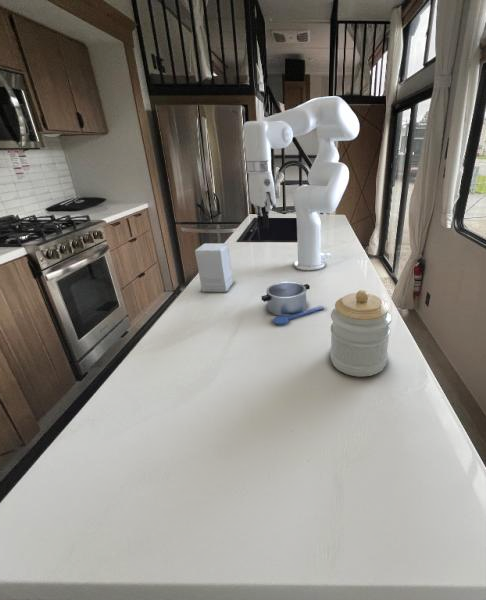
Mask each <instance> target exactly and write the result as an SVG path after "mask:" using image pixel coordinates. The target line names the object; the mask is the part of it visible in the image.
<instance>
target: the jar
mask: <svg viewBox="0 0 486 600" xmlns="http://www.w3.org/2000/svg"><path fill="white" fill-rule="evenodd" d="M389 309H390V308H389V305H388V303H387V302H386V301H384V300H383V299H382V298H380V296H377V295H374V294H371V293H368V292H367V290H363V289H361V290H358V291H357V292H352V293H349V294H346V295H344V296H342V297H339V299H337V300H336V302H335V304H334V307H333V309H332V311H331V312H330V318H331V321H332V322H331V325H330V332H331V334H330V335H331V339H330V340H331V341H330V344H331V345H330V349H329V350H330V351H329V352H330V353H329V355H330V359H331V363H332V365H333V366H334V368H335V369H336V370H338V371H339V372H341V373H343V374H346V375H349V376H353V377H370V376H374V375H376V374H379V373H380V372H382V371H383V370H384V368H385V367H386V364H387V361H388V355H389V352H388V347H389V339H390V336H391V329H390V327H389V326H390V324H391V323H392V320H393V317H392V315H391V313H390V312H389V311H390V310H389Z"/></svg>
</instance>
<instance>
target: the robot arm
mask: <svg viewBox="0 0 486 600" xmlns="http://www.w3.org/2000/svg"><path fill="white" fill-rule="evenodd" d="M315 129H316V136H317V142H318V143H317V144H318V152H317V155H316V156H315V159H314V161H313V163H312V165H311V167H310V168H309V169H310V170H309V172H308V174H307V182H308V184H304V185H303V184H302V185H300V186H298V187H297V188H295V190H294V191H293V194H292V195H293V196H292V199H293V206H294V210H295V217H296V219H295V220H296V239H297V240H296V241H297V242H296V243H297V260H295V261H294V264H293V265H294V268H296V269H297V270H301V271H317V270H320V269H323V268H324V267H325V264H326V263H325V261H324V260H326V259H331V257H332V256H331V253H329V252H328V253H324V252H322V221H321V218H320V216H319V214H331V213H334V212H335V211H336V210H337V208H338V206H339V204H340V202H341V200H342V197H343V195H344V193H345V191H346V189H347V186H348V184H349V180H350V171H349V170H350V169H349V168H348V166H347V165H346V164H345V163H344V162H340V161H339V160H340V153H339V151H338V148H337V147H336V145H335V142H342V141H346V142H348V141H353V140H354V139H356V138H357V137H358V135H359V132H360V122H359V118H358V117H357V115H356V113H355V112H354V111H353V110H352V108H351V107H350V105H349V104H348V103H347V102H346V101H345V99H343V98H342V97H340V96H337V95H333V96H323V97H316V98H312V99H310V100H308V101H306V102H304V103H301V104H299V105H298V106H295V107H292V108H289V109H287V110H284V111H281V112H278V113H275V114H272V115H269V116H266V117H263V118H262V119H260V120H249V121H245V122H244V123H243V126H242V132H243V143H244V152H245V153H244V154H245V163H246V173H247V174H248V195H249V201H250V203H251V204H252V205H253V208H254V209H255V212H256V216H257V228H259V229H261V230H263V229H269V227H270V219H269V216H270V212H271V211H272V207H275V206H276V204H277V199H276V189H275V181H274V176H273V168H272V166H273V165H272V152H271V151H272V150H273V149H274V150H275V149H276V150H277V149H285V148H287V147H289V146H290V144H291V143H292V141H293V138H296V137H301V136H304V135H307V134H308V133H310V132H312V131H313V130H315ZM271 149H272V150H271ZM318 213H319V214H318Z"/></svg>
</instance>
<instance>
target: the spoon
mask: <svg viewBox="0 0 486 600" xmlns="http://www.w3.org/2000/svg"><path fill="white" fill-rule="evenodd" d="M321 311H324V307H323V306H318V307H315V308H311V309H308V310H304V311H303V312H302V313H298V314H295V315H292V316H278V315H277V316H275V317H273V324H274V325H276V326H286V325H287V324H288V323H289V321H292V320H295V319H297V318H301V317H304V316H307V315H311V314H313V313H316V312H321Z"/></svg>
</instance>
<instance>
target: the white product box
mask: <svg viewBox="0 0 486 600" xmlns="http://www.w3.org/2000/svg"><path fill="white" fill-rule="evenodd" d="M229 247H230V246H229V243H227V242H225V243H222V242H221V243H212V242H211V243H210V242H209V243H203V244H202V245H200V246H199V247H197V248H196V249H195V250H194V255H195V259H196V260H195V261H196V266H197V271H198V275H199V282H200V287H201V291H202V292H206V293H207V292H212V293H215V292H218V293H219V292H220V293H226V292H227V291H228V290H229V289H230V288H231V286H232V285H233V284H234V276H233V270H232V269H233V268H232V261H231V255H230V248H229Z"/></svg>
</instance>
